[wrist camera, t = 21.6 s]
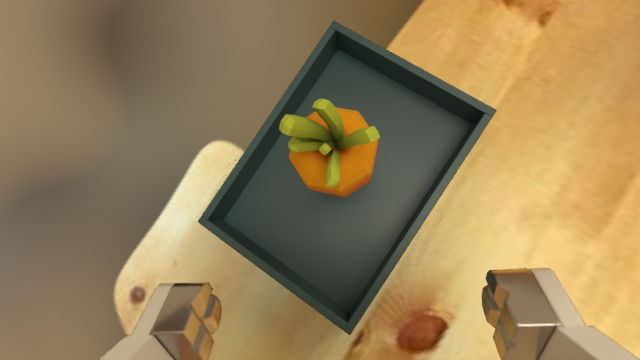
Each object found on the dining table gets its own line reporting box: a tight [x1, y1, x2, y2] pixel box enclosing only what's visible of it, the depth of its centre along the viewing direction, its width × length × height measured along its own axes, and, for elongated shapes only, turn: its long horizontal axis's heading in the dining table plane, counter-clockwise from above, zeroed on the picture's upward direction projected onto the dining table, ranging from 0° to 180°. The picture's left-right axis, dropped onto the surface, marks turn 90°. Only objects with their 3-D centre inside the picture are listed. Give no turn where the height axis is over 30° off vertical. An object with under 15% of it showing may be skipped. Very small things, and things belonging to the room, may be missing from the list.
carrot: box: [279, 99, 380, 197], centre depth 21 cm, size 5×5×15 cm
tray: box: [198, 21, 496, 335], centre depth 27 cm, size 19×14×4 cm
